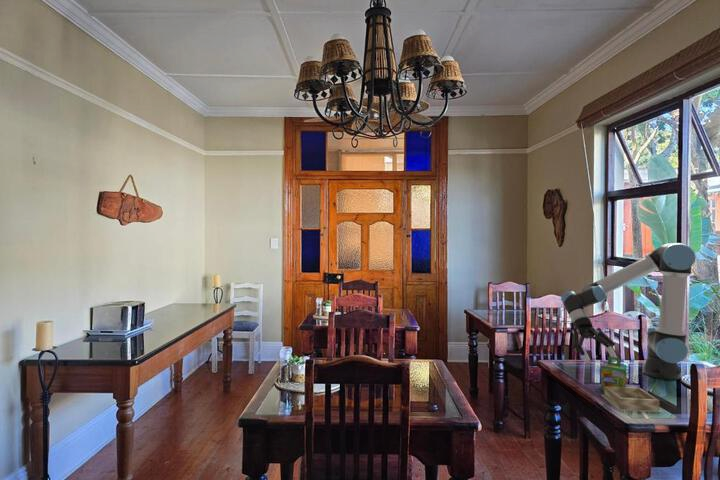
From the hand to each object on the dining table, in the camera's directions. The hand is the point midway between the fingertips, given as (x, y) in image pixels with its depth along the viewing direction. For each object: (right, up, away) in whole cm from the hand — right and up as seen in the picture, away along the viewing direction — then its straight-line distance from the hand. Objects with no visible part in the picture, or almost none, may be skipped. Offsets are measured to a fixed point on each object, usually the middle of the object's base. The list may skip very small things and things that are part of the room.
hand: (602, 361), depth 189 cm
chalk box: (+2, -12, -5) cm, 13 cm away
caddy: (0, -11, -19) cm, 22 cm away
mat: (0, -12, -19) cm, 23 cm away
